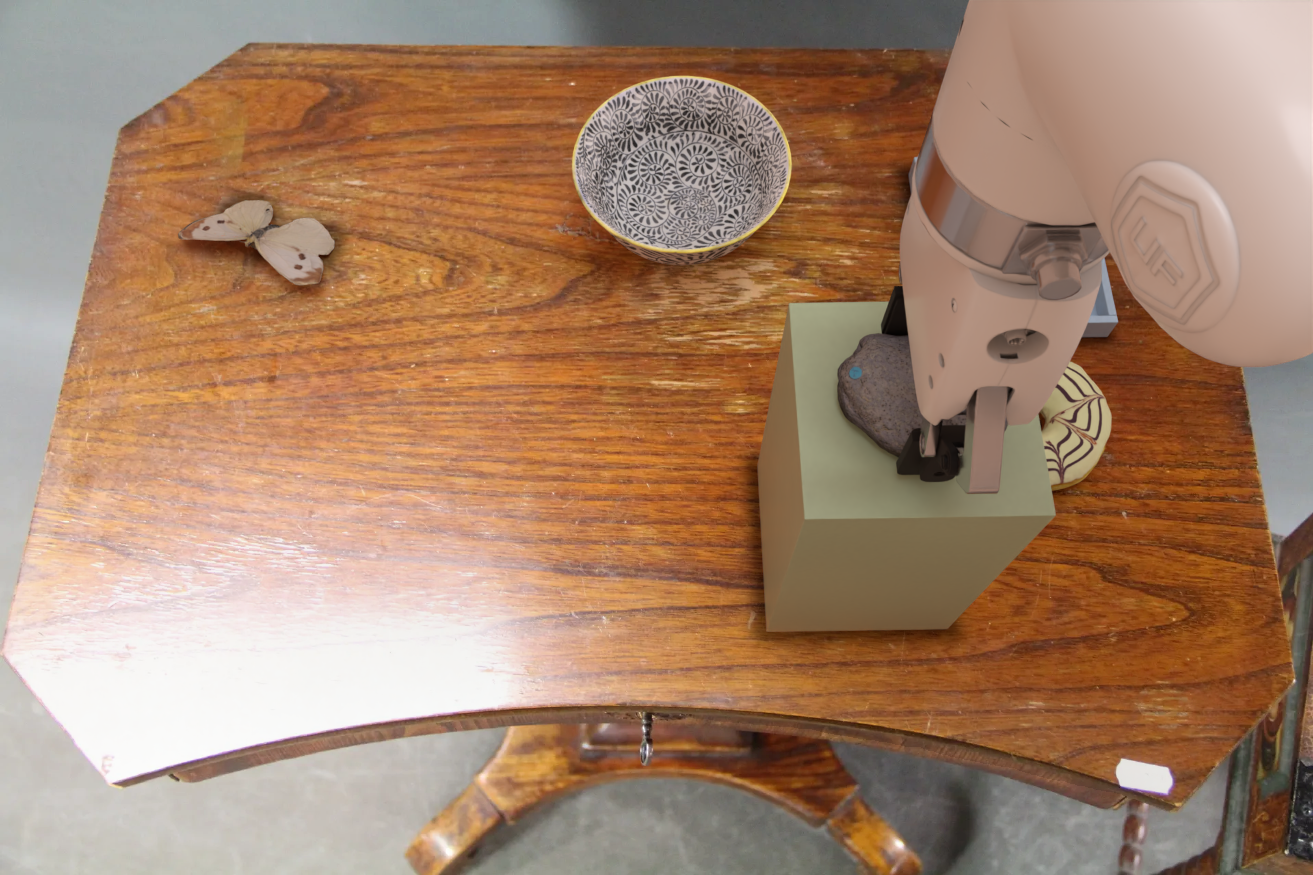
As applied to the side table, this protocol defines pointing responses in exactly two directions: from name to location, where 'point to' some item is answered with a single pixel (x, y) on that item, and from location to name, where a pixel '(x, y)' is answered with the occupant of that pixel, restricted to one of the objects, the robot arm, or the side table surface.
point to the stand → (874, 501)
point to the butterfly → (269, 238)
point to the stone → (883, 391)
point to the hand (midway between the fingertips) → (920, 397)
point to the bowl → (681, 168)
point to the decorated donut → (1074, 427)
